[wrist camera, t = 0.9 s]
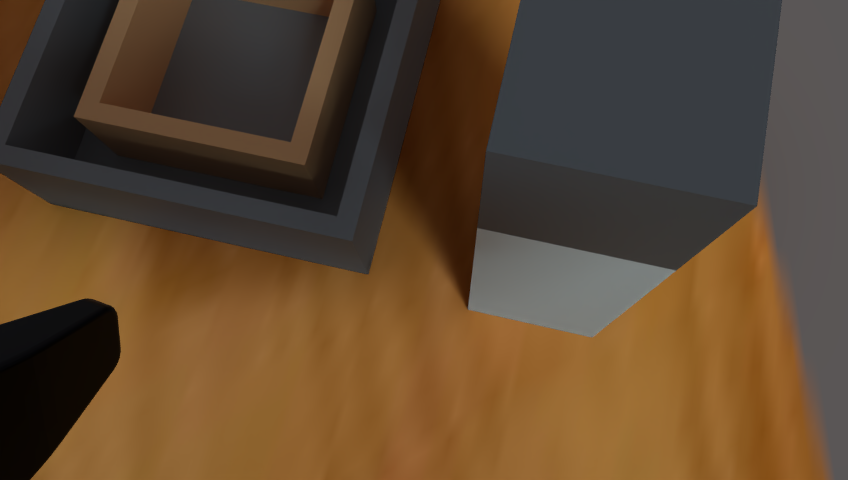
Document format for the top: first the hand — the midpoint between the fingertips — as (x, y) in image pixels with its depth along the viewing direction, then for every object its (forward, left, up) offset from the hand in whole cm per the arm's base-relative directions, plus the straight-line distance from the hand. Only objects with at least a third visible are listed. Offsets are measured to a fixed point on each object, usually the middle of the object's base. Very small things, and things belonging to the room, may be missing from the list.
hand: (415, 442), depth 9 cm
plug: (+6, -2, -14) cm, 15 cm away
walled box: (+10, +9, -14) cm, 19 cm away
